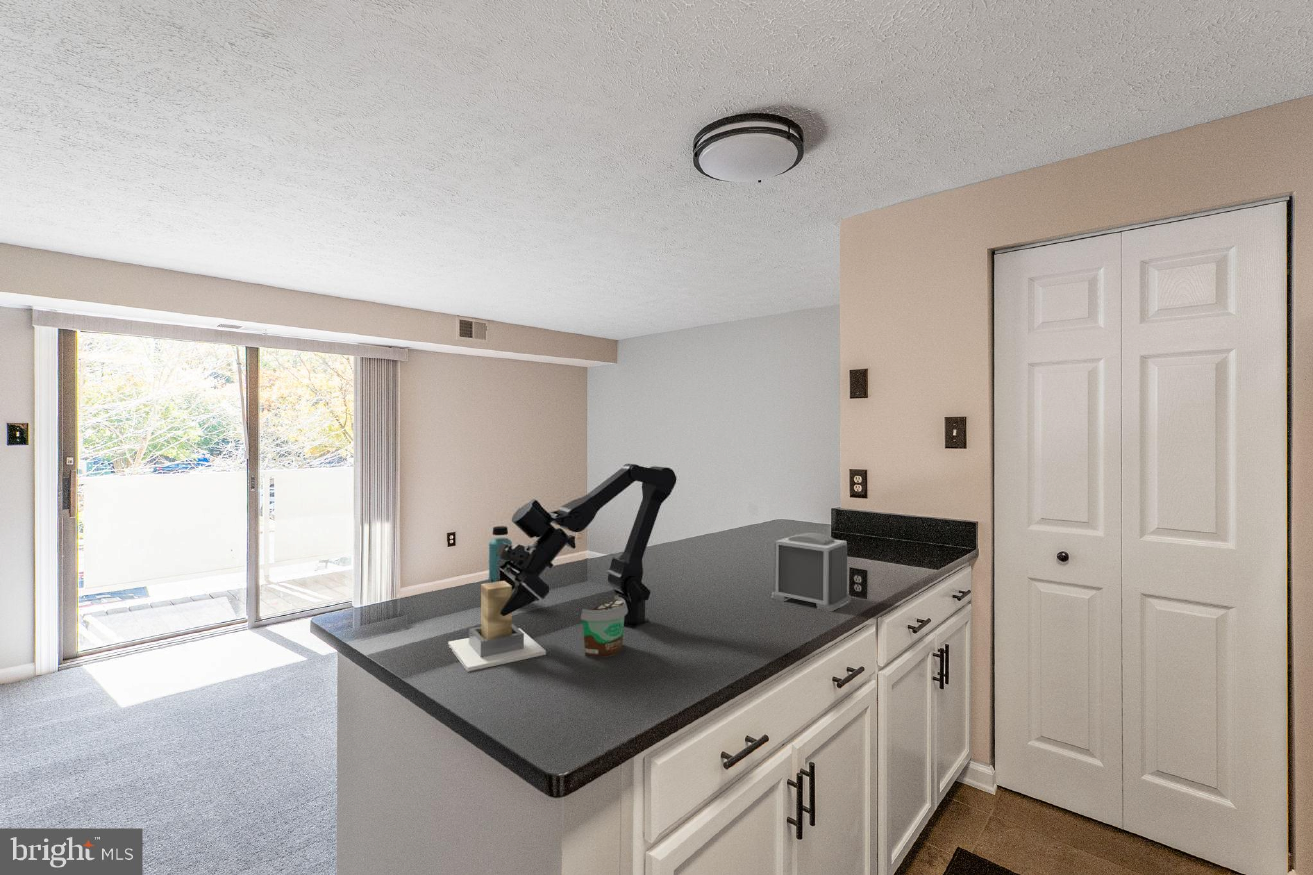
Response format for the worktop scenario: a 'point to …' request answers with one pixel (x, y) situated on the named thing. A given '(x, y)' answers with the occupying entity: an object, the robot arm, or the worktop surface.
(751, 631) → the worktop surface
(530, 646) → the base plate
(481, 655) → the metal collar
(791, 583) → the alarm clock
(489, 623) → the pine post
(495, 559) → the beverage bottle
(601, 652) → the food container
